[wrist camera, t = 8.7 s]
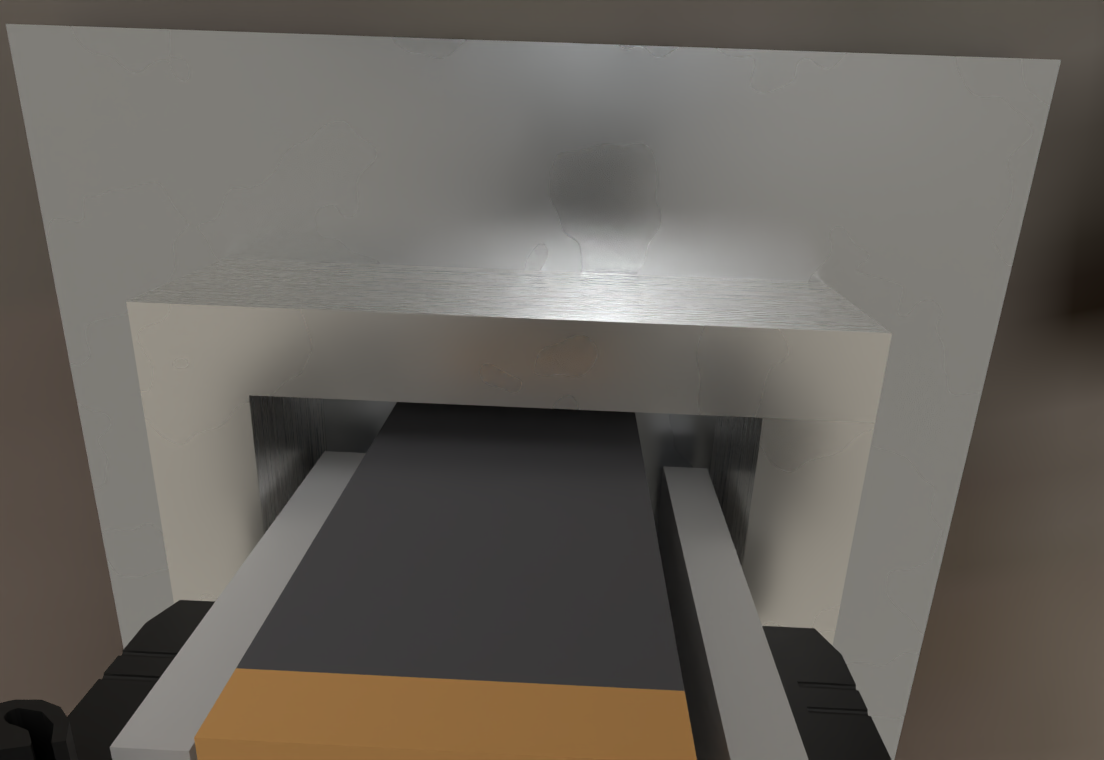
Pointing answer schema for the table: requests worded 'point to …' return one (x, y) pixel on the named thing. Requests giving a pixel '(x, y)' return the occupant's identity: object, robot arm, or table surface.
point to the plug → (471, 604)
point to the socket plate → (536, 283)
